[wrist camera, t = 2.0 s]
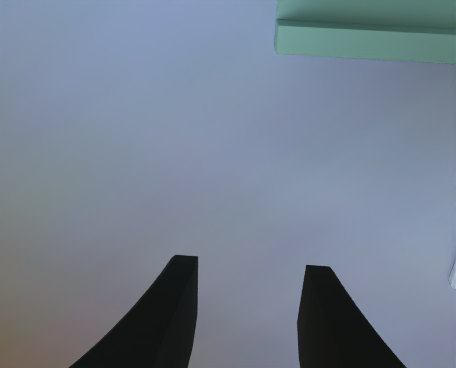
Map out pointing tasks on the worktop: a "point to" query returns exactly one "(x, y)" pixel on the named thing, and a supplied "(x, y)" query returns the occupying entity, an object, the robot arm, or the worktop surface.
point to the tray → (368, 29)
